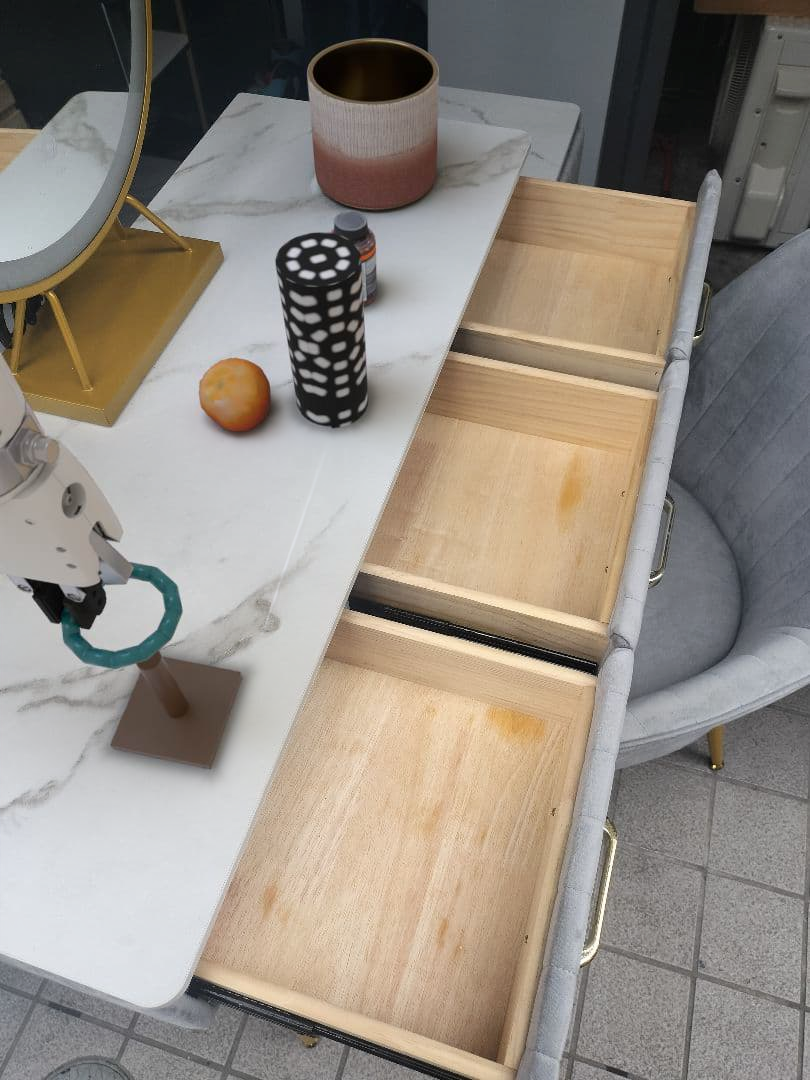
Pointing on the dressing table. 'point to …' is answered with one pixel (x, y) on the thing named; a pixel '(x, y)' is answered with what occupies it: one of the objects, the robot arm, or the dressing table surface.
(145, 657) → the bangle
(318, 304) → the spotted tube
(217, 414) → the fruit
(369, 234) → the supplement bottle
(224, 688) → the jewel stand
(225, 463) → the dressing table surface
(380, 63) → the planter
